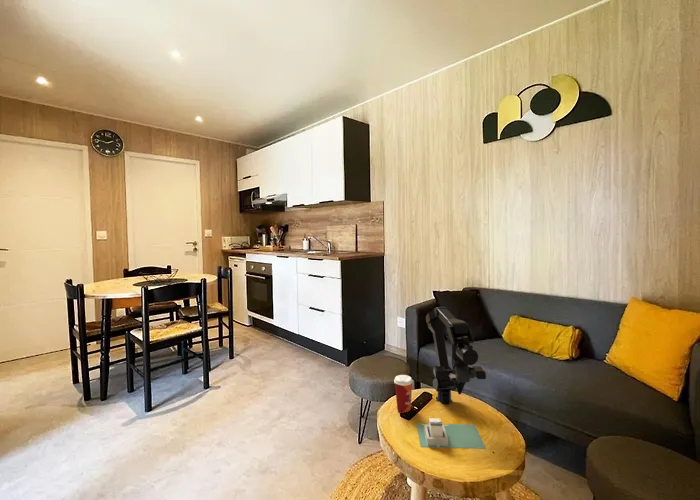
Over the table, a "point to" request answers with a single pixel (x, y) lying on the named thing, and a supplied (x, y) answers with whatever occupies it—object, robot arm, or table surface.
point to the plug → (435, 427)
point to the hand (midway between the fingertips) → (459, 393)
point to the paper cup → (403, 392)
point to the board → (451, 436)
